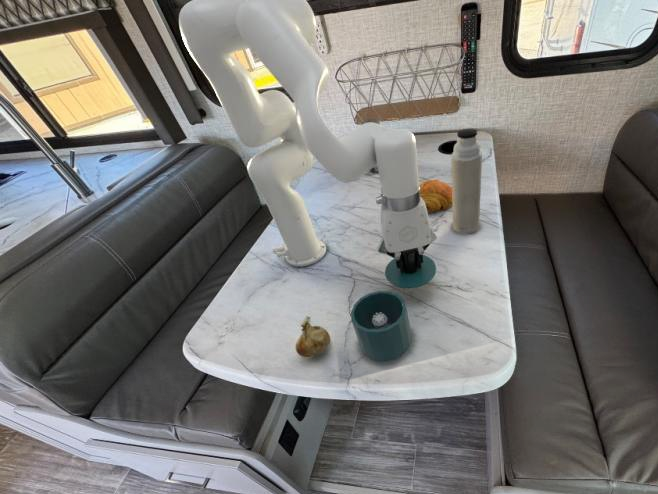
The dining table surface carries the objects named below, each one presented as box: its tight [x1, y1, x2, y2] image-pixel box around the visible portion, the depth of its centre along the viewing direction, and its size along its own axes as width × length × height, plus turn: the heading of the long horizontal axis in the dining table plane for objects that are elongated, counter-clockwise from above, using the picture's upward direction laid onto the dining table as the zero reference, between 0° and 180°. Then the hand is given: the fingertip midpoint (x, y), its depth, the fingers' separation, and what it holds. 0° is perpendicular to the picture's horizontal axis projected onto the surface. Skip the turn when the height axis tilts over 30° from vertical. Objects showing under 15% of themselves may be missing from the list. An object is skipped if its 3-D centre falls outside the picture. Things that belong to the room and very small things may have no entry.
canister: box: [350, 290, 412, 363], centre depth 72 cm, size 11×11×10 cm
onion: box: [295, 315, 331, 358], centre depth 74 cm, size 8×8×8 cm
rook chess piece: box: [372, 312, 388, 330], centre depth 73 cm, size 4×4×8 cm
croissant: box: [419, 179, 453, 213], centre depth 114 cm, size 14×16×8 cm
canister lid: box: [384, 248, 437, 289], centre depth 79 cm, size 12×12×7 cm
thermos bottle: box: [450, 127, 483, 234], centre depth 94 cm, size 8×8×28 cm
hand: (410, 266), depth 80 cm, fingers closed on canister lid, 3 cm apart
